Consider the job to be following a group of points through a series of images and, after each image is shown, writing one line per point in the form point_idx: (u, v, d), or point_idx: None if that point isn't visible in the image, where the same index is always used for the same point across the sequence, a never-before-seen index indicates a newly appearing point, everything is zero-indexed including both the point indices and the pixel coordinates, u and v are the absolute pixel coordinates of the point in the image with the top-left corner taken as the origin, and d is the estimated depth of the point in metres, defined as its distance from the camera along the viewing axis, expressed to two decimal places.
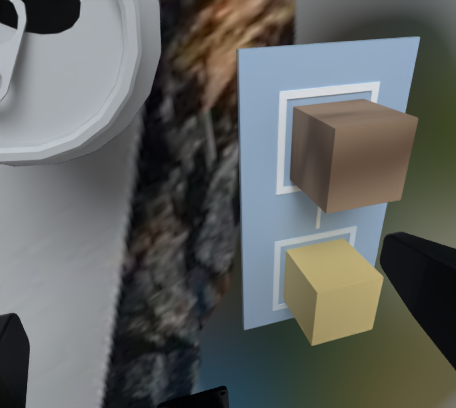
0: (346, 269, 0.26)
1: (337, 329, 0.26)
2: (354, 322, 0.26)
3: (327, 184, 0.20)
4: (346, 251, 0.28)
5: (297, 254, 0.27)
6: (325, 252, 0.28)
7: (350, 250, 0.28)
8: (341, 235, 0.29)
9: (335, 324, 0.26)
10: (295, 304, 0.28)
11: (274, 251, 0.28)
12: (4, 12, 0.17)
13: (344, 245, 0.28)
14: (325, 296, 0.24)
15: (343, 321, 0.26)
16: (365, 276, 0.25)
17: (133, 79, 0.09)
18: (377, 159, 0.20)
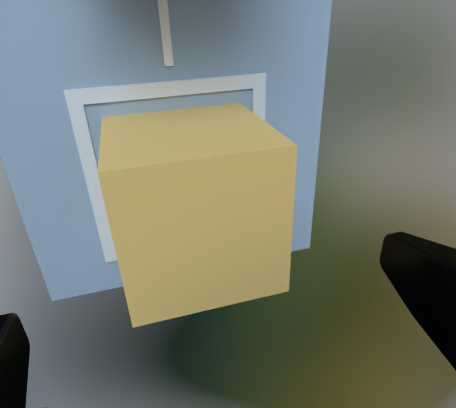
0: (211, 136, 0.10)
1: (195, 287, 0.11)
2: (237, 270, 0.11)
3: None
4: (232, 115, 0.12)
5: (119, 121, 0.12)
6: (185, 117, 0.12)
7: (242, 114, 0.12)
8: (232, 94, 0.13)
9: (185, 274, 0.10)
10: None
11: (72, 117, 0.12)
12: None
13: (233, 109, 0.13)
14: (128, 187, 0.09)
15: (207, 268, 0.10)
16: (251, 144, 0.10)
17: None
18: None
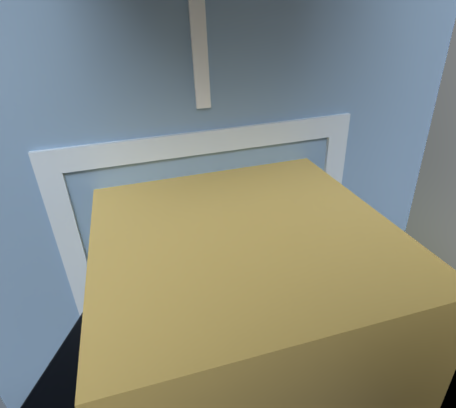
0: (295, 254, 0.06)
1: None
2: None
3: None
4: (309, 191, 0.07)
5: (123, 201, 0.07)
6: (231, 194, 0.07)
7: (324, 188, 0.07)
8: (298, 146, 0.09)
9: None
10: None
11: (45, 192, 0.08)
12: None
13: (305, 175, 0.08)
14: None
15: None
16: (387, 288, 0.05)
17: None
18: None
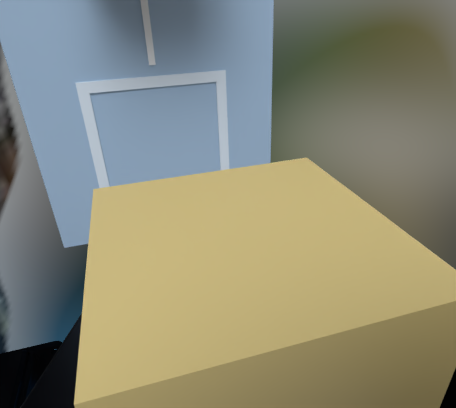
0: (295, 253, 0.06)
1: None
2: None
3: None
4: (309, 190, 0.07)
5: (122, 200, 0.07)
6: (230, 193, 0.07)
7: (324, 187, 0.07)
8: (201, 86, 0.18)
9: None
10: None
11: (81, 103, 0.17)
12: None
13: (304, 174, 0.08)
14: None
15: None
16: (386, 287, 0.05)
17: None
18: None
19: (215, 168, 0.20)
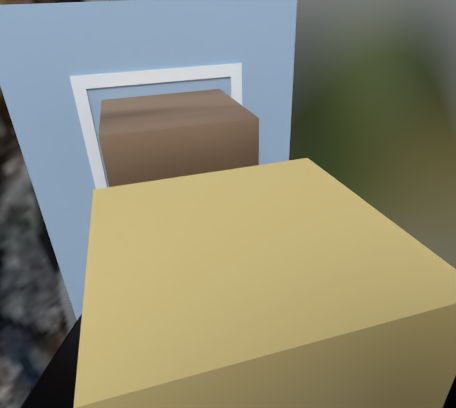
0: (296, 254, 0.05)
1: None
2: None
3: None
4: (310, 190, 0.07)
5: (122, 201, 0.07)
6: (231, 194, 0.07)
7: (325, 188, 0.07)
8: None
9: None
10: None
11: None
12: None
13: (305, 175, 0.08)
14: None
15: None
16: (388, 289, 0.05)
17: None
18: None
19: None
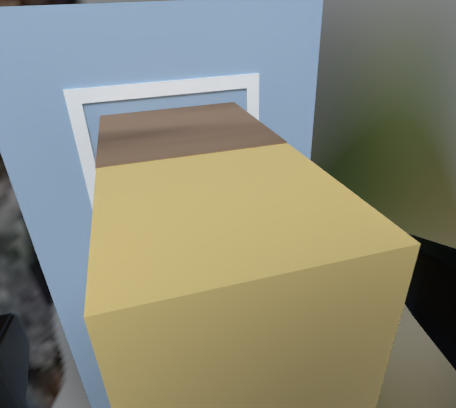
0: (268, 216, 0.07)
1: None
2: None
3: None
4: (286, 169, 0.08)
5: (122, 177, 0.08)
6: (217, 171, 0.08)
7: (300, 166, 0.08)
8: None
9: None
10: None
11: None
12: None
13: (283, 156, 0.09)
14: (139, 333, 0.05)
15: None
16: (340, 240, 0.06)
17: None
18: None
19: None
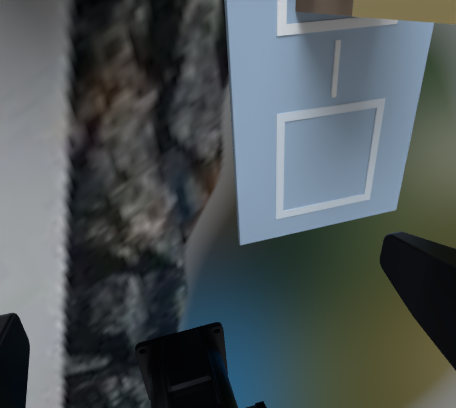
0: None
1: None
2: None
3: None
4: None
5: None
6: None
7: None
8: (364, 111, 0.22)
9: None
10: None
11: (276, 129, 0.21)
12: None
13: None
14: None
15: None
16: None
17: None
18: None
19: (362, 177, 0.24)
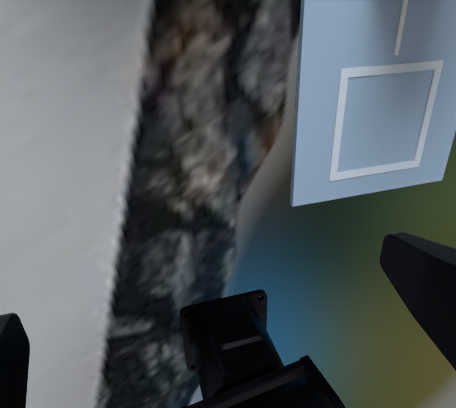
0: None
1: None
2: None
3: None
4: None
5: None
6: None
7: None
8: (423, 72, 0.22)
9: None
10: None
11: (339, 85, 0.21)
12: None
13: None
14: None
15: None
16: None
17: None
18: None
19: (413, 142, 0.24)
